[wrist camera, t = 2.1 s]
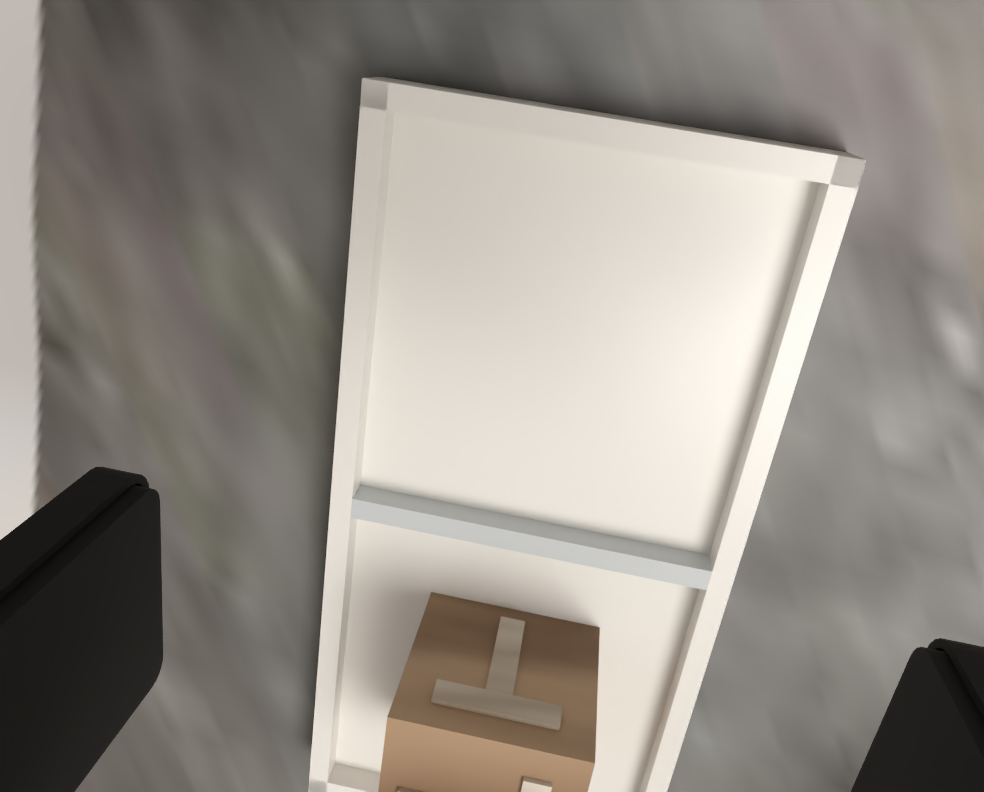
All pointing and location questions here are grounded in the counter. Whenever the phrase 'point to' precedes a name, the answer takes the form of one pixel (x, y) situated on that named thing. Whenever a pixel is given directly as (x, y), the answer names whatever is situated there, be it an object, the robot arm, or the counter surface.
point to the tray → (560, 394)
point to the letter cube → (493, 703)
